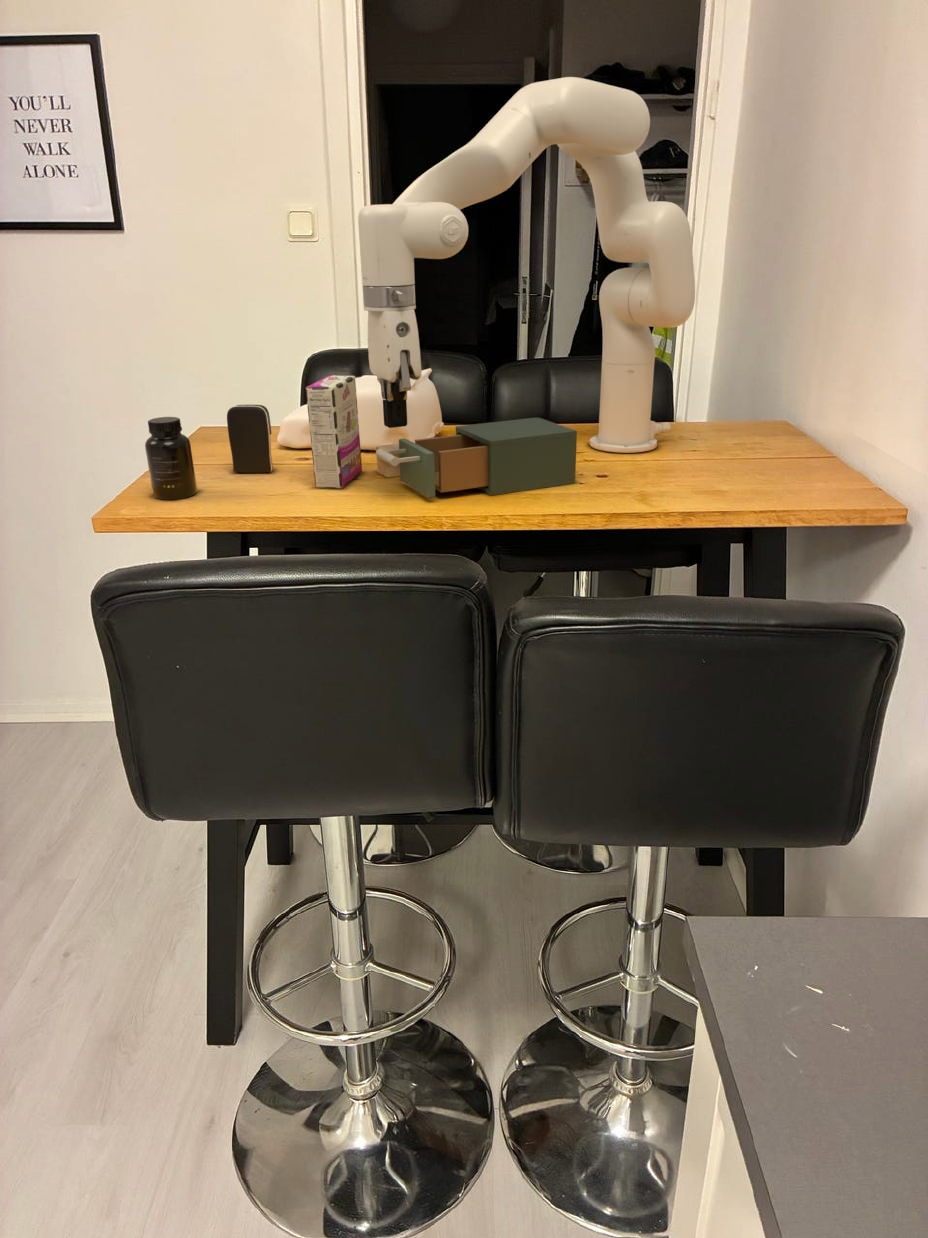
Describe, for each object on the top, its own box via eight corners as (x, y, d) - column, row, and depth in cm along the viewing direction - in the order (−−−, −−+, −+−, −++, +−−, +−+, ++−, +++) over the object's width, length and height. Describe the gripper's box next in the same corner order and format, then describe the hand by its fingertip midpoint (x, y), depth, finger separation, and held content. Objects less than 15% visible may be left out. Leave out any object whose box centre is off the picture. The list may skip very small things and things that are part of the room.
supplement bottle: (158, 489, 147) (147, 415, 142) (200, 488, 148) (191, 414, 143) (148, 501, 141) (136, 424, 136) (193, 499, 141) (182, 423, 137)
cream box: (401, 468, 158) (400, 443, 156) (411, 474, 154) (410, 448, 152) (377, 471, 156) (375, 445, 154) (386, 477, 152) (385, 451, 151)
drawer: (398, 502, 136) (396, 457, 133) (372, 484, 145) (369, 442, 142) (511, 485, 143) (512, 443, 141) (479, 469, 153) (479, 429, 150)
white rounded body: (427, 455, 166) (425, 381, 161) (273, 450, 172) (266, 378, 166) (448, 433, 184) (447, 365, 178) (308, 429, 189) (302, 363, 184)
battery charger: (277, 468, 159) (270, 402, 155) (271, 473, 156) (265, 406, 151) (237, 468, 160) (230, 402, 155) (231, 473, 156) (224, 406, 151)
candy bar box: (335, 471, 157) (328, 374, 150) (362, 472, 156) (357, 375, 149) (312, 488, 147) (304, 385, 140) (342, 489, 146) (334, 386, 139)
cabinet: (490, 495, 142) (490, 441, 138) (456, 477, 152) (455, 426, 149) (575, 483, 148) (577, 430, 144) (536, 466, 158) (537, 417, 155)
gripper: (434, 300, 125) (438, 432, 133) (394, 293, 137) (400, 414, 145) (383, 303, 122) (390, 438, 130) (347, 296, 134) (356, 420, 142)
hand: (395, 425), depth 137 cm, fingers closed
